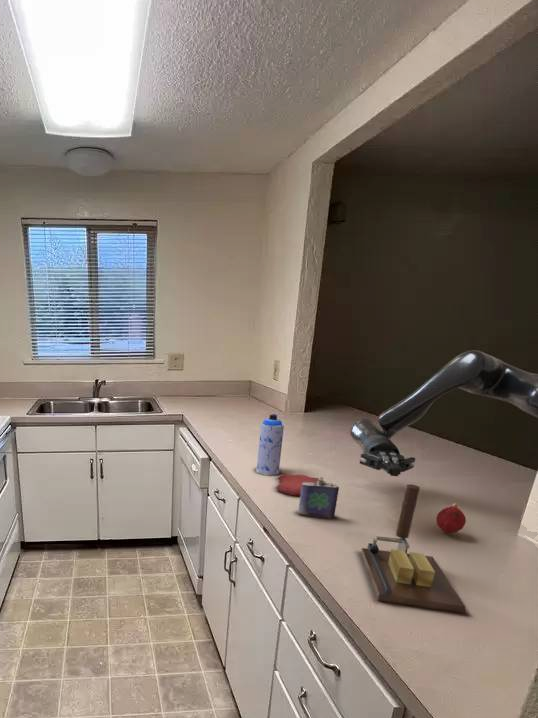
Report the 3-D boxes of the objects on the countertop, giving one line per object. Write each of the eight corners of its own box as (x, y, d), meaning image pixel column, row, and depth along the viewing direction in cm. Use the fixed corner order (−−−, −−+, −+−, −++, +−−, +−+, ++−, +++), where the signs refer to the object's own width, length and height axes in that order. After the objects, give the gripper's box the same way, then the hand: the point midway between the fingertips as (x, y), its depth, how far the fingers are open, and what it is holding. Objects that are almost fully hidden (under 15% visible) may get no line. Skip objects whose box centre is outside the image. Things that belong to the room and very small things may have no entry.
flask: (298, 515, 118) (303, 478, 114) (297, 510, 120) (302, 474, 117) (334, 518, 116) (341, 481, 112) (333, 514, 118) (339, 477, 114)
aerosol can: (280, 475, 147) (287, 417, 140) (257, 474, 148) (262, 417, 141) (277, 467, 154) (283, 412, 147) (255, 466, 155) (260, 412, 148)
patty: (279, 475, 147) (280, 470, 146) (323, 480, 142) (324, 475, 141) (274, 494, 132) (275, 488, 131) (324, 500, 127) (325, 494, 126)
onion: (463, 541, 103) (472, 510, 101) (435, 536, 106) (443, 506, 103) (458, 530, 108) (466, 501, 105) (431, 526, 111) (438, 497, 108)
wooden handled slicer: (402, 550, 96) (418, 485, 91) (410, 564, 91) (426, 495, 85) (365, 546, 98) (378, 481, 93) (370, 559, 93) (384, 491, 87)
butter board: (431, 562, 95) (436, 542, 93) (463, 613, 79) (470, 590, 77) (360, 553, 99) (364, 534, 97) (377, 600, 83) (382, 578, 81)
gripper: (355, 436, 118) (367, 455, 103) (410, 439, 114) (431, 459, 99) (350, 462, 121) (361, 484, 105) (404, 466, 117) (424, 489, 101)
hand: (395, 472), depth 102 cm, fingers closed
